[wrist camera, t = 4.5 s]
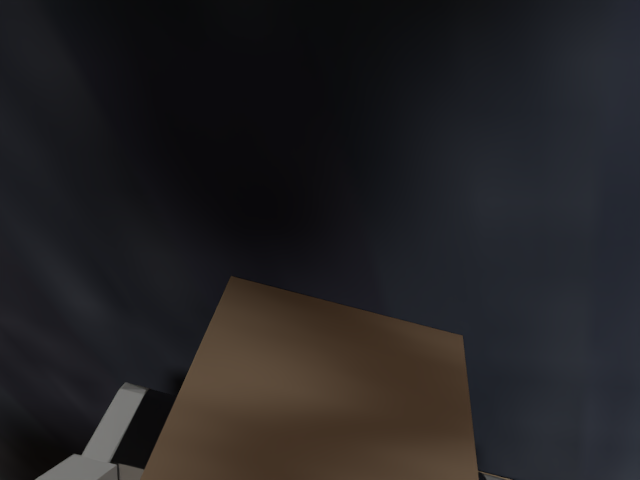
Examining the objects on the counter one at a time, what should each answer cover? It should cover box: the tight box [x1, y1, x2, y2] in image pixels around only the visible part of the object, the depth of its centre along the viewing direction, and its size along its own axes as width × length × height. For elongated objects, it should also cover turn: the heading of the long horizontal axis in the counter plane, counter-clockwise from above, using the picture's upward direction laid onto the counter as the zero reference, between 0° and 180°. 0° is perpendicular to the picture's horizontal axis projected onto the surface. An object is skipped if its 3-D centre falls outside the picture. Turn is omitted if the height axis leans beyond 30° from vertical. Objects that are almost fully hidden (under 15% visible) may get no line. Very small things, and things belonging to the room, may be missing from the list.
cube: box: [140, 276, 479, 480], centre depth 10 cm, size 5×5×5 cm
